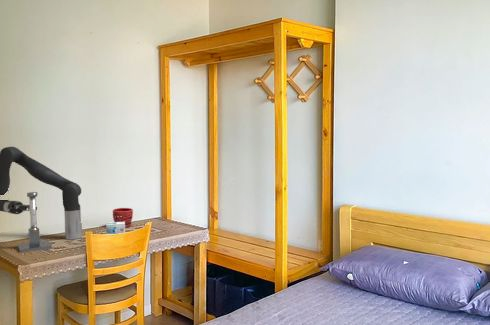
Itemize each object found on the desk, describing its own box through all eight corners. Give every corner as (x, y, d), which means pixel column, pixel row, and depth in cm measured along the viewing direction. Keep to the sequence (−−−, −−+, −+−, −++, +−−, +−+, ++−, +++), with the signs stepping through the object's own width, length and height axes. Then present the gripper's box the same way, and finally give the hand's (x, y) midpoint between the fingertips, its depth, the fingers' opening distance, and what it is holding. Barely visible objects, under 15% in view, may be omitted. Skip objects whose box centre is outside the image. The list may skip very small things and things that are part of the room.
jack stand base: (47, 242, 270) (47, 224, 269) (51, 248, 256) (51, 229, 255) (17, 246, 262) (16, 228, 261) (20, 252, 248) (19, 233, 247)
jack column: (38, 233, 262) (36, 191, 260) (39, 235, 258) (37, 192, 256) (28, 234, 259) (26, 192, 258) (29, 236, 255) (27, 193, 253)
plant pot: (109, 228, 308) (108, 210, 307) (120, 224, 321) (119, 207, 320) (126, 229, 304) (126, 211, 303) (136, 225, 317) (136, 208, 316)
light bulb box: (106, 243, 267) (105, 224, 267) (106, 240, 274) (106, 222, 273) (125, 241, 270) (124, 223, 270) (125, 239, 277) (124, 221, 276)
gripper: (1, 202, 263) (16, 204, 253) (24, 199, 274) (40, 201, 265) (1, 215, 263) (17, 218, 254) (25, 211, 275) (41, 214, 266)
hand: (29, 209), depth 260 cm, fingers open, 8 cm apart
